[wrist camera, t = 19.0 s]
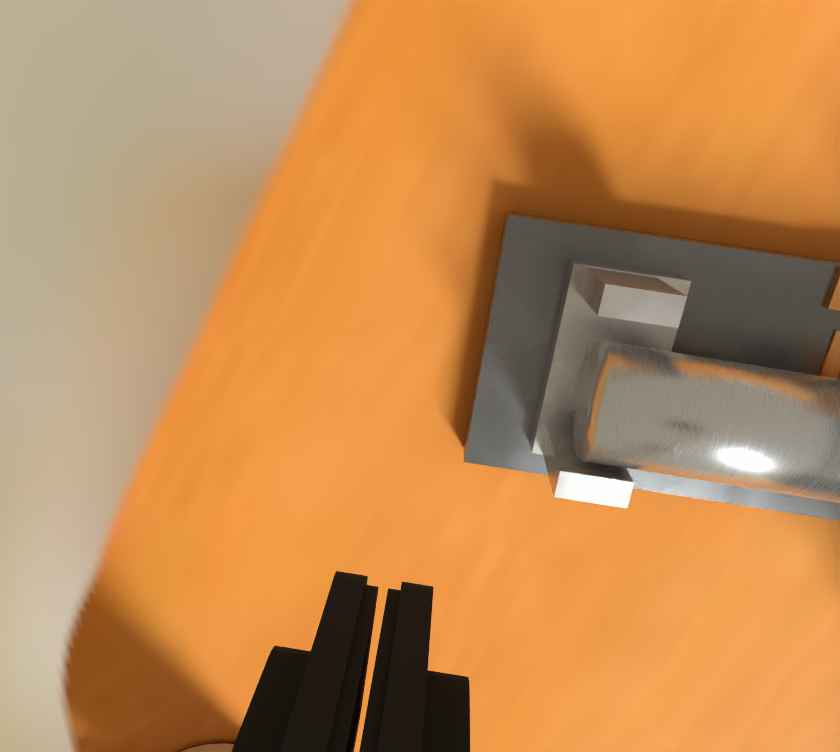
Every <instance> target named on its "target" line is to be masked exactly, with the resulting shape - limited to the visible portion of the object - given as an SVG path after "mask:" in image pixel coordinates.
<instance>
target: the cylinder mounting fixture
mask: <svg viewBox="0 0 840 752" xmlns="http://www.w3.org/2000/svg"><path fill="white" fill-rule="evenodd" d="M598 341H607V342H614V343H620V344H626V345H632V346H638V347H645V348H651V349H657V350H663V351H669V352H675V353H682V354H688V355H694V356H700V357H706V358H713V359H719V360H725V361H731V362H737V363H743V364H750V365H756V366H762V367H768V368H774V369H781V370H787V371H793V372H799V373H805V374H811V375H818V376H824V377H830V378H836V379H840V262H837V261H830V260H824V259H817V258H810V257H804V256H797V255H790V254H784V253H777V252H770V251H764V250H757V249H750V248H744V247H737V246H730V245H723V244H717V243H710V242H703V241H697V240H690V239H683V238H677V237H670V236H663V235H657V234H650V233H643V232H637V231H630V230H623V229H617V228H610V227H603V226H596V225H590V224H583V223H576V222H570V221H563V220H556V219H550V218H543V217H536V216H530V215H523V214H516V213H510V212H506V218H505V223H504V229H503V234H502V240H501V245H500V251H499V256H498V262H497V267H496V273H495V279H494V284H493V290H492V295H491V301H490V306H489V312H488V317H487V323H486V328H485V334H484V339H483V345H482V351H481V356H480V362H479V367H478V373H477V378H476V384H475V389H474V395H473V400H472V406H471V411H470V417H469V423H468V428H467V434H466V439H465V445H464V462H468V463H474V464H481V465H487V466H494V467H500V468H506V469H513V470H519V471H526V472H532V473H538V474H545V475H548V476H549V479H550V483H551V487H552V491H553V494H554V497H559V498H565V499H572V500H578V501H584V502H591V503H597V504H604V505H610V506H616V507H623V508H627V506H628V502H629V499H630V495H631V492H632V488H634V489H641V490H647V491H653V492H660V493H666V494H673V495H679V496H685V497H692V498H698V499H705V500H711V501H717V502H724V503H730V504H737V505H743V506H749V507H756V508H762V509H768V510H775V511H781V512H788V513H794V514H800V515H807V516H813V517H820V518H826V519H832V520H839V521H840V503H836V502H830V501H824V500H818V499H812V498H806V497H800V496H794V495H788V494H782V493H776V492H770V491H764V490H757V489H751V488H745V487H739V486H733V485H727V484H721V483H715V482H709V481H703V480H697V479H691V478H684V477H678V476H672V475H666V474H660V473H654V472H648V471H642V470H636V469H630V468H624V467H618V466H612V465H605V464H599V463H593V462H587V461H582V460H580V459H578V457H577V455H576V452H575V448H574V440H573V419H574V409H575V401H576V395H577V390H578V385H579V381H580V377H581V373H582V370H583V367H584V364H585V361H586V359H587V356H588V354H589V352H590V350H591V349H592V347H593V346H594V344H595V343H596V342H598Z"/></svg>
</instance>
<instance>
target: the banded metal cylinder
mask: <svg viewBox="0 0 840 752" xmlns="http://www.w3.org/2000/svg"><path fill="white" fill-rule="evenodd" d="M573 440H574V448H575V452H576V455H577V457H578V459H580V460H582V461H587V462H593V463H599V464H605V465H612V466H618V467H624V468H630V469H636V470H642V471H648V472H654V473H660V474H666V475H672V476H678V477H684V478H691V479H697V480H703V481H709V482H715V483H721V484H727V485H733V486H739V487H745V488H751V489H757V490H764V491H770V492H776V493H782V494H788V495H794V496H800V497H806V498H812V499H818V500H824V501H830V502H836V503H840V379H836V378H830V377H824V376H818V375H811V374H805V373H799V372H793V371H787V370H781V369H774V368H768V367H762V366H756V365H750V364H743V363H737V362H731V361H725V360H719V359H713V358H706V357H700V356H694V355H688V354H682V353H675V352H669V351H663V350H657V349H651V348H645V347H638V346H632V345H626V344H620V343H614V342H607V341H598V342H596V343H595V344H594V346H593V347H592V349H591V350H590V352H589V354H588V356H587V359H586V361H585V364H584V367H583V370H582V373H581V377H580V381H579V385H578V390H577V395H576V401H575V409H574V419H573Z"/></svg>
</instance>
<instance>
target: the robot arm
mask: <svg viewBox="0 0 840 752" xmlns="http://www.w3.org/2000/svg"><path fill="white" fill-rule="evenodd" d="M367 578H368V577H367V576H363V575H357V574H351V573H345V572H338V571H336V573H335V576H334V579H333V582H332V585H331V588H330V592H329V595H328V598H327V601H326V604H325V608H324V611H323V614H322V617H321V621H320V624H319V627H318V630H317V633H316V637H315V640H314V643H313V646H312V649H311V651H304V650H298V649H292V648H286V647H280V646H274V647H273V649H272V650H271V653H270V655H269V657H268V660H267V662H266V665H265V667H264V670H263V672H262V675H261V677H260V680H259V683H258V685H257V688H256V690H255V693H254V695H253V698H252V700H251V703H250V705H249V708H248V711H247V713H246V716H245V718H244V721H243V723H242V726H241V728H240V731H239V733H238V736H237V739H236V741H235V744H226V743H222V744H206V745H201V746H197V747H192V748H189V749H186V750H184V751H181V752H354V747H355V742H356V736H357V731H358V725H359V719H360V713H361V707H362V700H363V693H364V686H365V679H366V672H367V665H368V658H369V651H370V644H371V636H372V629H373V622H374V615H375V608H376V601H377V594H378V587H376V586H370V585H367ZM432 599H433V587H432V586H426V585H420V584H413V583H407V582H402V585H401V590H395V589H388V593H387V599H386V604H385V610H384V616H383V621H382V627H381V633H380V638H379V644H378V650H377V655H376V661H375V667H374V672H373V678H372V684H371V689H370V695H369V701H368V706H367V712H366V718H365V723H364V729H363V735H362V741H361V746H360V752H470V696H469V679H468V677H465V676H459V675H452V674H446V673H440V672H434V671H428V670H427V669H428V655H429V641H430V627H431V613H432Z"/></svg>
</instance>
